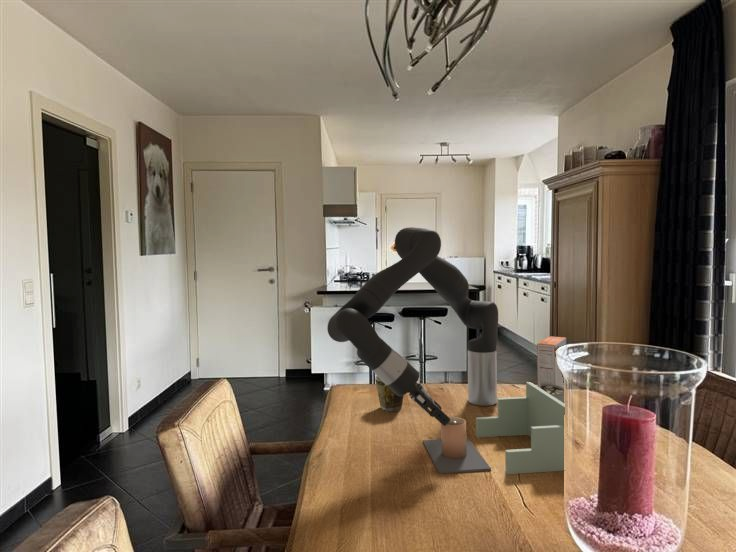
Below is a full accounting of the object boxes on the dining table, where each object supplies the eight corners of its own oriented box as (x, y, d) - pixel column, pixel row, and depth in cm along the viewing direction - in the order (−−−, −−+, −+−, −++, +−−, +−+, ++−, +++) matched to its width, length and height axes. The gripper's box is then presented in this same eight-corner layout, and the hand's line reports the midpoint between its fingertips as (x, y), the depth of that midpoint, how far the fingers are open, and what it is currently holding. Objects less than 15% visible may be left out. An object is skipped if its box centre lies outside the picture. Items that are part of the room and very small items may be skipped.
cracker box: (548, 397, 161) (548, 335, 160) (567, 400, 157) (567, 337, 156) (536, 408, 149) (535, 342, 148) (556, 412, 146) (556, 344, 145)
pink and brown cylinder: (439, 449, 120) (438, 417, 119) (462, 447, 120) (461, 416, 120) (445, 459, 114) (444, 426, 113) (469, 457, 114) (469, 424, 114)
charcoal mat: (422, 442, 125) (422, 440, 125) (467, 439, 126) (467, 437, 126) (439, 473, 107) (439, 471, 107) (491, 470, 108) (491, 468, 108)
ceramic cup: (380, 402, 159) (379, 372, 159) (409, 404, 157) (409, 374, 156) (369, 415, 147) (369, 383, 146) (401, 417, 144) (401, 385, 144)
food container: (571, 431, 130) (571, 395, 130) (547, 430, 131) (547, 394, 131) (562, 416, 142) (562, 383, 142) (540, 415, 143) (540, 382, 143)
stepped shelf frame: (476, 435, 129) (475, 384, 128) (530, 432, 130) (530, 381, 129) (507, 474, 107) (507, 412, 106) (572, 469, 108) (572, 408, 107)
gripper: (411, 367, 107) (461, 415, 109) (401, 354, 122) (446, 396, 123) (388, 391, 107) (439, 439, 109) (381, 375, 121) (426, 417, 123)
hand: (442, 416), depth 116 cm, fingers open, 8 cm apart
